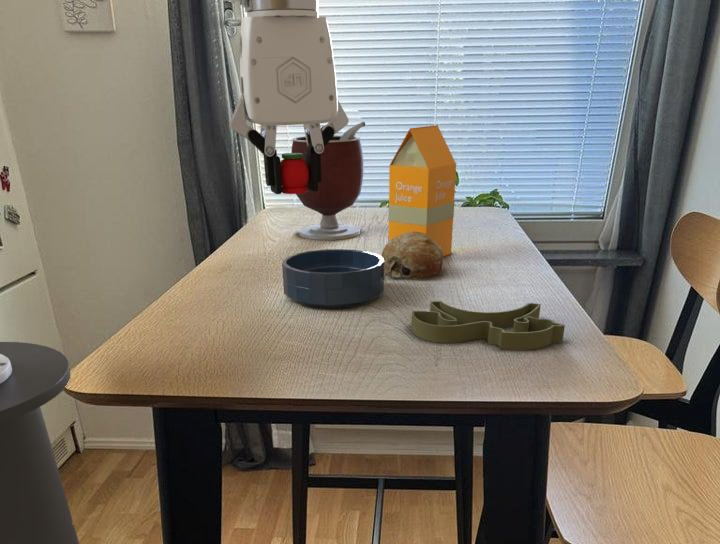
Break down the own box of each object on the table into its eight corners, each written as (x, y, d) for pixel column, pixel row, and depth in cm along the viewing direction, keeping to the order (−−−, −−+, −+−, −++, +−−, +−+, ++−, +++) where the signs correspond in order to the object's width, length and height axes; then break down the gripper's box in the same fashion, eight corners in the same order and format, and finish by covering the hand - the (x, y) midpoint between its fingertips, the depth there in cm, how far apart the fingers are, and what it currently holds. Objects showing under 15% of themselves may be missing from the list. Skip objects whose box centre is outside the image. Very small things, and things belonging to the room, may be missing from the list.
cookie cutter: (553, 318, 86) (555, 303, 85) (566, 351, 76) (568, 334, 75) (413, 315, 88) (414, 300, 87) (407, 346, 78) (408, 329, 77)
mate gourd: (280, 235, 133) (272, 121, 122) (322, 224, 143) (317, 117, 132) (345, 244, 125) (342, 124, 115) (383, 231, 135) (384, 119, 125)
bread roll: (376, 297, 108) (370, 255, 101) (393, 256, 113) (387, 214, 107) (437, 302, 105) (434, 259, 99) (450, 260, 110) (448, 217, 104)
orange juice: (452, 253, 118) (459, 125, 108) (425, 263, 112) (430, 129, 102) (414, 248, 122) (418, 124, 112) (387, 257, 116) (388, 127, 106)
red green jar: (282, 195, 77) (280, 156, 75) (275, 191, 80) (272, 153, 78) (314, 193, 78) (312, 154, 76) (305, 188, 81) (303, 151, 79)
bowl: (300, 316, 88) (298, 277, 86) (273, 288, 100) (271, 254, 97) (399, 303, 93) (399, 267, 90) (362, 279, 104) (362, 245, 101)
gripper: (207, -3, 64) (230, 201, 74) (369, -1, 69) (371, 190, 79) (196, 4, 70) (219, 192, 80) (345, 5, 75) (350, 182, 85)
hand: (294, 189), depth 79 cm, fingers closed on red green jar, 3 cm apart
